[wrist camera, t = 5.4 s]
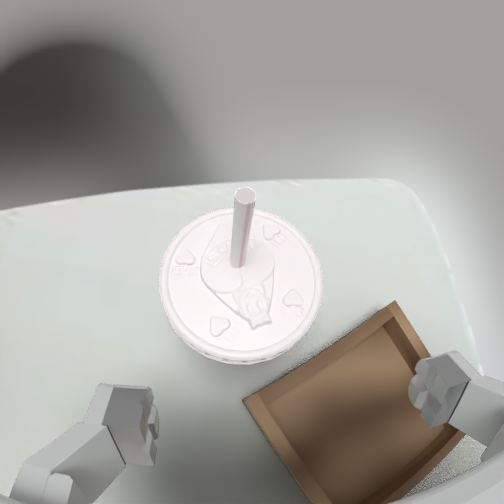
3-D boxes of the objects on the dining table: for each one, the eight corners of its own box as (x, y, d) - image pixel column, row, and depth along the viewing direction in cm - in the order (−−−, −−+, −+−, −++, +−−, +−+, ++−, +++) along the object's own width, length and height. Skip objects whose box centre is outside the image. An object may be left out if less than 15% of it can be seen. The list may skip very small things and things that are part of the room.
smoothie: (259, 273, 23) (306, 114, 10) (296, 358, 20) (411, 281, 8) (171, 302, 21) (112, 157, 9) (203, 393, 19) (168, 379, 6)
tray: (450, 428, 18) (471, 428, 16) (330, 528, 15) (343, 540, 13) (379, 310, 22) (395, 300, 20) (241, 399, 19) (244, 400, 17)
